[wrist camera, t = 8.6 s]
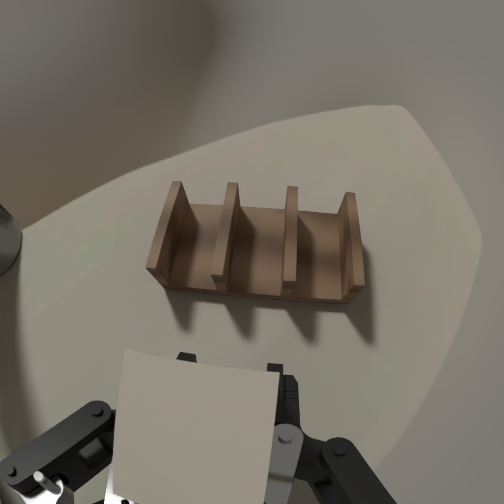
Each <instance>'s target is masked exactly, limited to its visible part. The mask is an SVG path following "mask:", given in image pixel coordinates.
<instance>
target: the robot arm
mask: <svg viewBox="0 0 504 504" xmlns="http://www.w3.org/2000/svg"><path fill="white" fill-rule="evenodd" d="M18 223H19V222H18V221H17V220H16V219H15V218H14V217H13V216H12V215H11V214H10V213H9V212H8V211H7V210H6V209H5V208H4V207H3V206H2V205H1V204H0V274H2V273H4V272H5V271H7V270H8V268H9V267H10V266H11V265H12V263H13V262H14V260H15V258H16V256H17V254H18V251H19V248H20V245H21V240H22V232H21V229H20V228H19V226H18ZM177 360H182V361H188V362H194V363H197V361H196V355H195V354H190V353H184V352H180V353H179V355H178V357H177ZM267 371H268V372H280V374H279V385H278V395H277V404H276V413H275V422H274V431H273V439H272V447H271V455H270V463H269V470H268V477H267V484H266V491H265V497H264V503H263V504H287V501H288V498H289V495H290V492H291V488H292V485H293V477H294V478H297V479H301V480H305V481H308V483H309V485H310V487H311V489H312V490H313V492H314V494H315V496H316V498H317V499H318V501H319V503H320V504H397V503H396V502H395V501H394V499H393V498H392V497H391V495H390V494H389V493H388V491H387V490H386V489H385V487H384V486H383V485H382V483H381V482H380V481H379V479H378V478H377V476H376V475H375V474H374V472H373V471H372V469H371V468H370V467H369V465H368V464H367V463H366V461H365V460H364V458H363V457H362V456H361V454H360V453H359V451H358V450H357V448H356V447H355V446H354V444H353V443H352V442H351V441H349V440H348V439H345V438H340V437H336V438H332V439H329V440H328V441H326V442H325V441H321V440H317V439H313V438H311V437H309V436H307V435H306V434H305V433H304V432H303V431H302V429H301V427H300V413H299V394H298V382H297V381H296V379H295V378H294V376H293V375H283V364H273V363H268V364H267ZM115 418H116V410H111V408H110V406H109V405H108V404H107V403H105V402H103V401H91V402H89V403H87V404H86V405H85V406H83V407H82V408H80V409H79V410H77V411H76V412H74V413H73V414H72V415H70V416H69V417H67V418H66V419H64V420H63V421H61V422H60V423H58V424H57V425H55V426H54V427H52V428H51V429H49V430H48V431H46V432H45V433H43V434H42V435H40V436H39V437H37V438H36V439H34V440H33V441H31V442H30V443H28V444H27V445H25V446H24V447H22V448H20V449H19V450H17V451H16V452H14V453H13V454H11V455H9V456H8V457H6V458H5V459H3V460H2V461H1V462H0V477H1V478H2V480H3V481H4V482H6V483H7V484H8V485H9V486H11V487H12V488H13V489H14V490H15V491H16V492H17V493H19V494H20V495H21V497H22V498H23V500H24V501H25V502H26V504H74V492H75V491H76V490H77V489H79V488H80V487H81V486H83V485H84V484H85V483H87V482H88V481H89V480H90V479H92V478H93V477H94V476H95V475H97V474H98V473H99V472H100V471H102V470H103V469H104V468H105V467H107V466H108V465H109V464H110V463H111V467H110V472H109V478H108V483H107V489H106V495H105V499H103V500H100V501H98V502H96V503H93V504H138V503H135V502H133V501H130V500H127V499H125V498H122V497H120V496H117V495H115V494H113V446H114V430H115Z"/></svg>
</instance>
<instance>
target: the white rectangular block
mask: <svg viewBox="0 0 504 504" xmlns="http://www.w3.org/2000/svg"><path fill="white" fill-rule="evenodd" d="M279 374H280V372H268V371H256V370H246V369H237V368H228V367H221V366H213V365H206V364H200V363H194V362H188V361H182V360H177V359H171V358H166V357H161V356H157V355H152V354H147V353H143V352H139V351H134V350H130V349H126V348H125V351H124V357H123V363H122V369H121V376H120V383H119V391H118V399H117V408H116V418H115V430H114V446H113V494H115V495H117V496H120V497H122V498H125V499H127V500H130V501H133V502H135V503H138V504H263V503H264V497H265V491H266V484H267V477H268V470H269V463H270V455H271V447H272V439H273V431H274V422H275V413H276V404H277V395H278V385H279Z"/></svg>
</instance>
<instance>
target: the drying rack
mask: <svg viewBox="0 0 504 504" xmlns="http://www.w3.org/2000/svg"><path fill="white" fill-rule="evenodd" d="M146 269H147V270H148V271H149V272H150V273H151V274H152V275H153V277H154V278H155V279H156V280H157V281H158V282H159V283H160V284H161V285H162V287H163V288H169V289H177V290H185V291H194V292H203V293H212V294H222V295H232V296H242V297H254V298H266V299H278V300H292V301H307V302H324V303H345V304H348V303H349V301H350V300H351V299H352V298H353V297H354V296H355V295H356V294H357V293H358V292H359V291H360V290H361V289H362V288H363V287H364V286H365V280H364V265H363V254H362V243H361V234H360V226H359V218H358V210H357V203H356V197H355V193H351V192H346V193H345V195H344V198H343V201H342V203H341V206H340V208H339V211H338V214H330V213H319V212H309V211H298V187H293V186H288V188H287V196H286V205H285V209H272V208H257V207H242V206H240V199H239V190H238V183H230V182H228V185H227V190H226V194H225V199H224V204H223V205H202V204H189V202H188V199H187V196H186V193H185V190H184V187H183V185H182V182H181V181H173V182H172V185H171V187H170V190H169V193H168V196H167V199H166V202H165V205H164V208H163V211H162V214H161V217H160V220H159V223H158V226H157V230H156V233H155V236H154V239H153V243H152V246H151V250H150V253H149V257H148V260H147V264H146Z"/></svg>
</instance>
